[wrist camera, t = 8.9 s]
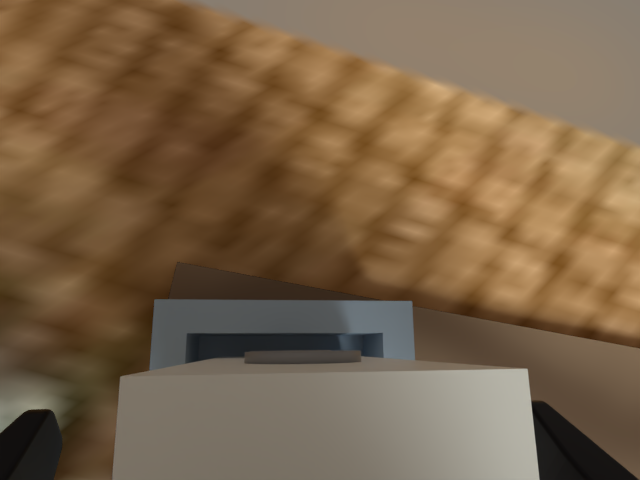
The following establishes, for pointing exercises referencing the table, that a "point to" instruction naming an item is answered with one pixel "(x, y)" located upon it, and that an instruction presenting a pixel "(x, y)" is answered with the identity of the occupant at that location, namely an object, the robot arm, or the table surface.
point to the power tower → (325, 420)
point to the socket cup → (278, 328)
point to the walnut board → (488, 355)
